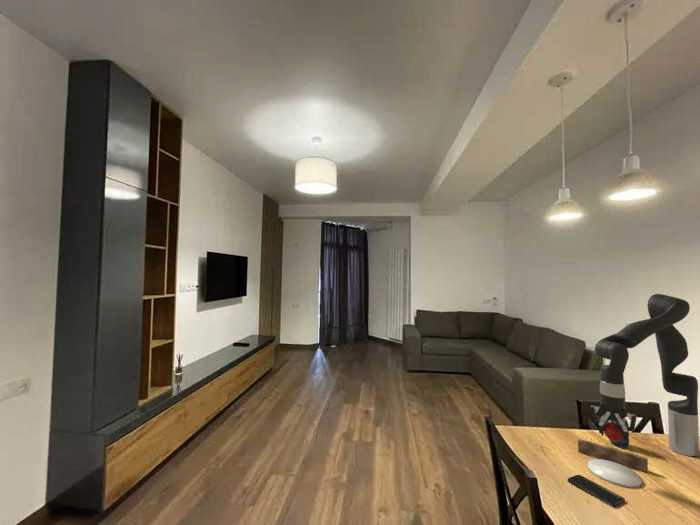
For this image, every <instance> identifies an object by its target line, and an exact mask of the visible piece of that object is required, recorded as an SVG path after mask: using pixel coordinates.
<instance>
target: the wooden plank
mask: <svg viewBox="0 0 700 525" xmlns="http://www.w3.org/2000/svg"><path fill="white" fill-rule="evenodd" d="M577 445H578V446H577V449H578V450H577V451H578V453H579V452H580V454H583V453H584V455H586V454H588V455H587V456H590V455H592V456H591V457H593V456H594V458H596V457H597V458H596V459H602V460H608V461H612V462H615V463H618V464H621V465H623V466H626V467H628V468H630V469H632V470H633V469H634V470H637V471H641V472H643V473H649V468H648V467H649V465H648V462H649V461H648V457H647V456H643V455H639V454H636V453H633V452H629V451H626V450H622V449H617V448H614V447H612V446H611V447H610V446H607V445H603V444H600V443H596V442H592V441H588V440H585V439H582V438H578V439H577Z"/></svg>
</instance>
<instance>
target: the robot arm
mask: <svg viewBox="0 0 700 525" xmlns="http://www.w3.org/2000/svg"><path fill="white" fill-rule="evenodd" d="M690 306H691V305H690V304H689V302H688V301H687V300H685V299H683V298H679V297H675V296H671V295H667V294H661V293H655V294H652V295H650V297H649V299H648V300H647V311H648V315H649V317H650V318H648V319H647V318H646V319H643V320H641V319H640V320H637V321H634V322H631V323H629V324H627V325H626V326H625V327H623V328H622V329H621V330H620V331H618V332H616V333H613V334H611V335H608V336H605V337H603V338H602V339H600V340H598V342H596V344H595V346H594V352H595V354H596V355H597V356H598V357H601V358H602V359H605V360H606V359H607V360H609V364H604V365H601V366H600V370H599V371H600V383H599V403H600V404H599V406H595V405H592V404H591V405H590V413H591V417H592V422H593V423H594V424H597V425H598V433H599V434H600V435H601V436H603V437H604V435H605V434H604V426H605V425H604V424H605V423H606V422H607V420H608V421H609V420H613V421H615V422H619V423H620V425H621V426H622V428H623V441H625V440H628V432H629V433H630V432H633V433H634V432H635V428H636V422H637V415H636V414H635V413H632V414H631V413H629V412H627V411H626V391H625V390H626V388H625V384H624V382H625V380H624V373H625V370H626V368H627V364H628V362H629V356H630V355H629V353H630V352H629V350H628V349H634V348H635V347H637V346H638V345H639V344H641V343H643V341H645V340H646V339H648V338H649V337H651V336H652V335H655V341H656V342H655V343H656V348H657V353H658V357H659V361H660V366H661V367H660V368H661V369H660V370H661V380H662V386H663V389H664V391H665V392H667V393H669V394H673V395H678V396H682V397H686V398H684V399H681V400H669V401H668V402H667V412H668V413H667V415H668V416H667V417H668V418H667V419H668V420H667V422H668V423H667V424H668V425H667V426H668V448H669V449H671V450H672V451H674V452H676V453H679V454H681V455H683V456H689V457H693V456H697V457H699V456H700V435H699V434H700V431H699V408H698V407H699V406H698V405H699V404H698V403H699V402H698V399H699V398H698V396H699V381H698V379H697V378H696V377H695V376H693V375H689V374H684V373H677V372H674V370H675V369H676V368H677V367H678V366H680V365H681V364H682V363H683V362H685V361H686V360H687V358H688V356H689V350H688V343H687V339H686V338H685V337H684V336H683V334H682V333H681V332H680V330H678V329H677V328H676V327H675V326H674V325H676V323H679V322H680V321H683V320H684V319H685V318H686V317H687V316H688V315H689V313H690V308H691V307H690ZM598 411H599V412H600V413H601V415H602V416H601V418H600V419H598V417H597V413H598ZM626 417H628V420H630V422H629V427H627V426H626V424H625V422H624V420H623V419H624V418H626Z"/></svg>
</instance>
